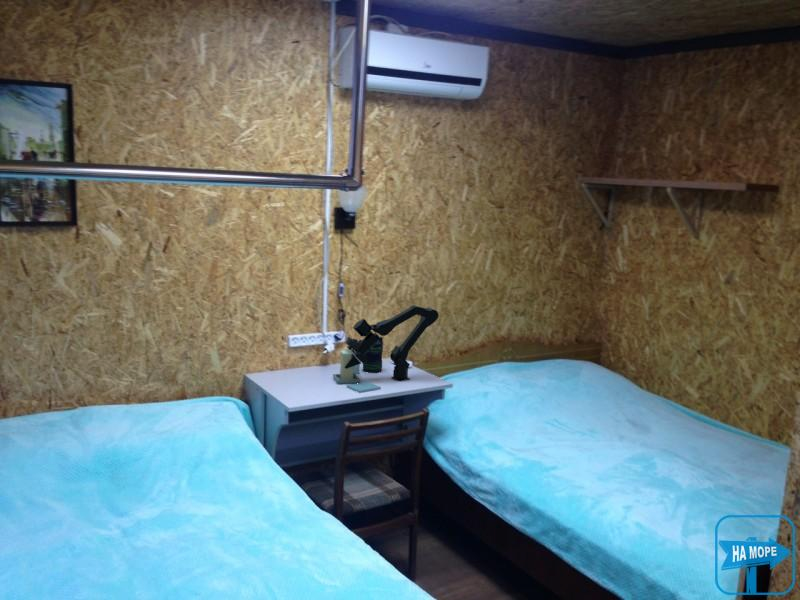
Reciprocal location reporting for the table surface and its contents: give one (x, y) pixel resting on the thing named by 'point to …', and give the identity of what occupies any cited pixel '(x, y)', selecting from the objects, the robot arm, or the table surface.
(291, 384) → the table surface
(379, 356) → the storage jar
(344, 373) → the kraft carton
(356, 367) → the medicine box
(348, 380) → the charcoal tray
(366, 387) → the slate board
